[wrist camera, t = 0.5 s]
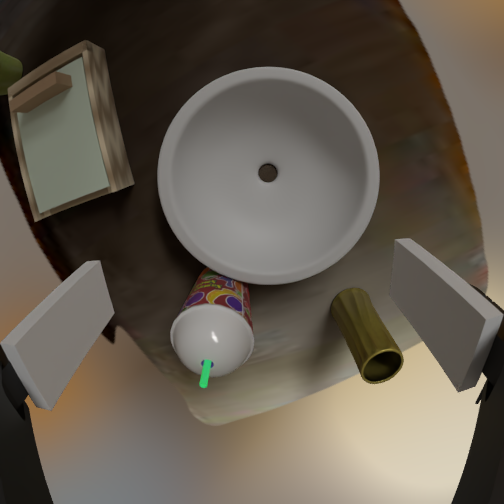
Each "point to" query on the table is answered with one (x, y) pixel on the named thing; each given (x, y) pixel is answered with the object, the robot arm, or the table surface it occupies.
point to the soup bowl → (274, 193)
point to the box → (103, 120)
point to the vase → (366, 336)
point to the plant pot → (9, 72)
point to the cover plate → (60, 137)
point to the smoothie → (214, 326)
